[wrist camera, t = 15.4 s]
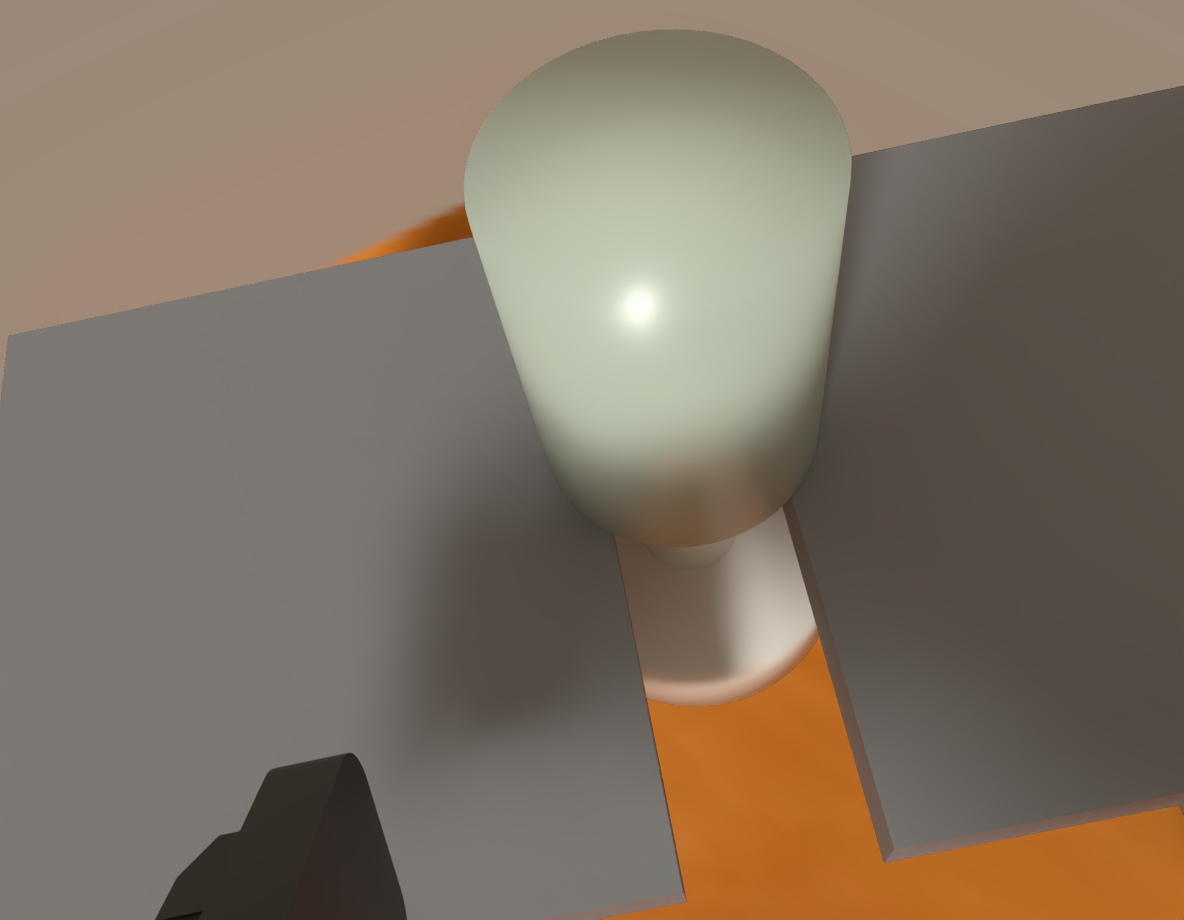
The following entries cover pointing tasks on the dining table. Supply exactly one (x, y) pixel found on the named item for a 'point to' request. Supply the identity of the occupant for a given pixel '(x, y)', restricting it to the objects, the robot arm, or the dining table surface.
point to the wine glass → (674, 325)
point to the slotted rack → (600, 550)
